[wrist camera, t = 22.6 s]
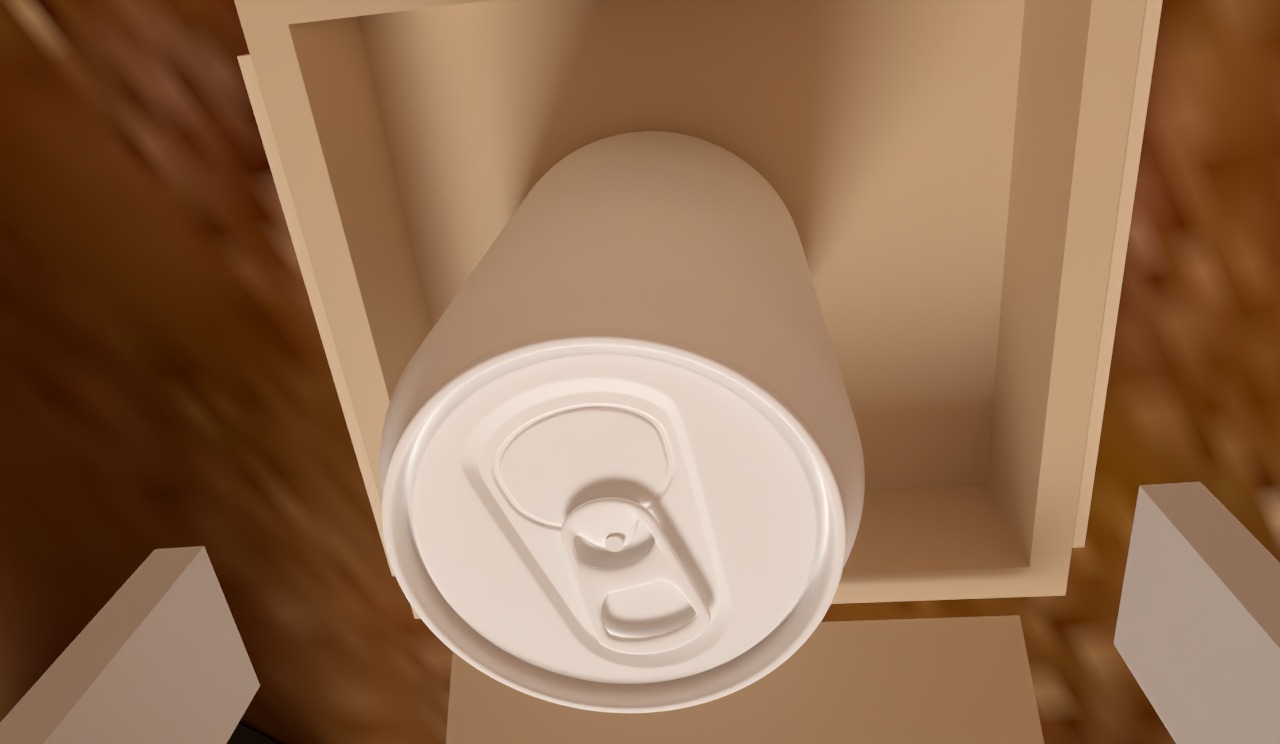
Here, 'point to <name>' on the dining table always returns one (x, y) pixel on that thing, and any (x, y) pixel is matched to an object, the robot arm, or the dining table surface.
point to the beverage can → (627, 438)
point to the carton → (808, 186)
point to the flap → (805, 695)
